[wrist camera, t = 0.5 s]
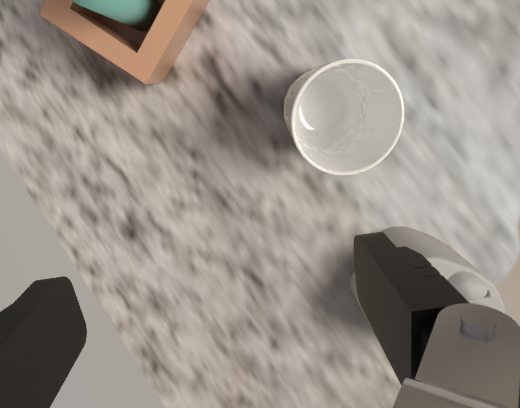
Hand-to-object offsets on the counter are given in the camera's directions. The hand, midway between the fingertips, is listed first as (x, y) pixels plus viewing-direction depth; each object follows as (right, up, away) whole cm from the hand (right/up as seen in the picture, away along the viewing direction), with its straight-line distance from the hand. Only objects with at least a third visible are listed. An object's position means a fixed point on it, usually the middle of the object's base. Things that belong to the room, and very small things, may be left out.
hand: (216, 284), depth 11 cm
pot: (-9, +18, +21) cm, 29 cm away
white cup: (+7, +11, +25) cm, 28 cm away
